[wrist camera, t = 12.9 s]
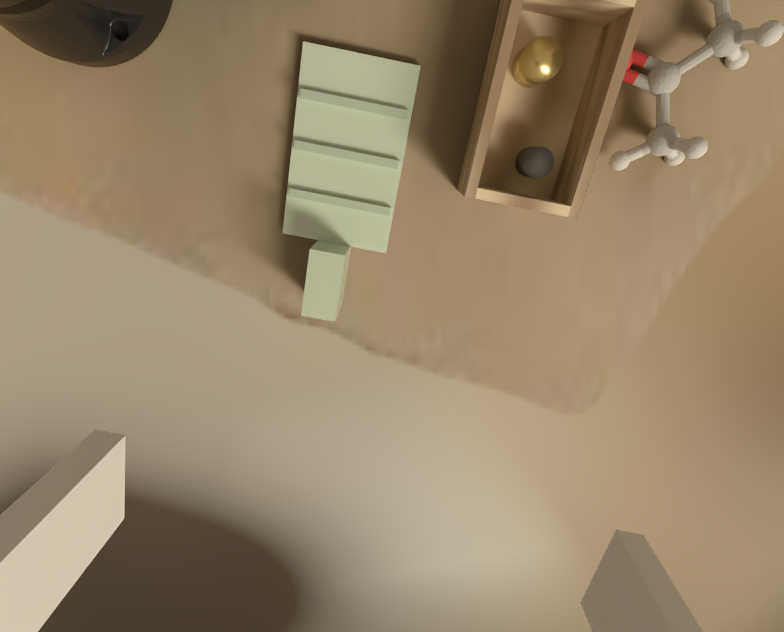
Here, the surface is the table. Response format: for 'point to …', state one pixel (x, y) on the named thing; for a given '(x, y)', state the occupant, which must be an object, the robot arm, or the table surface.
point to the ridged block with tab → (345, 162)
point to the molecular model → (667, 78)
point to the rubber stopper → (535, 162)
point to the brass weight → (537, 61)
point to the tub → (549, 101)
